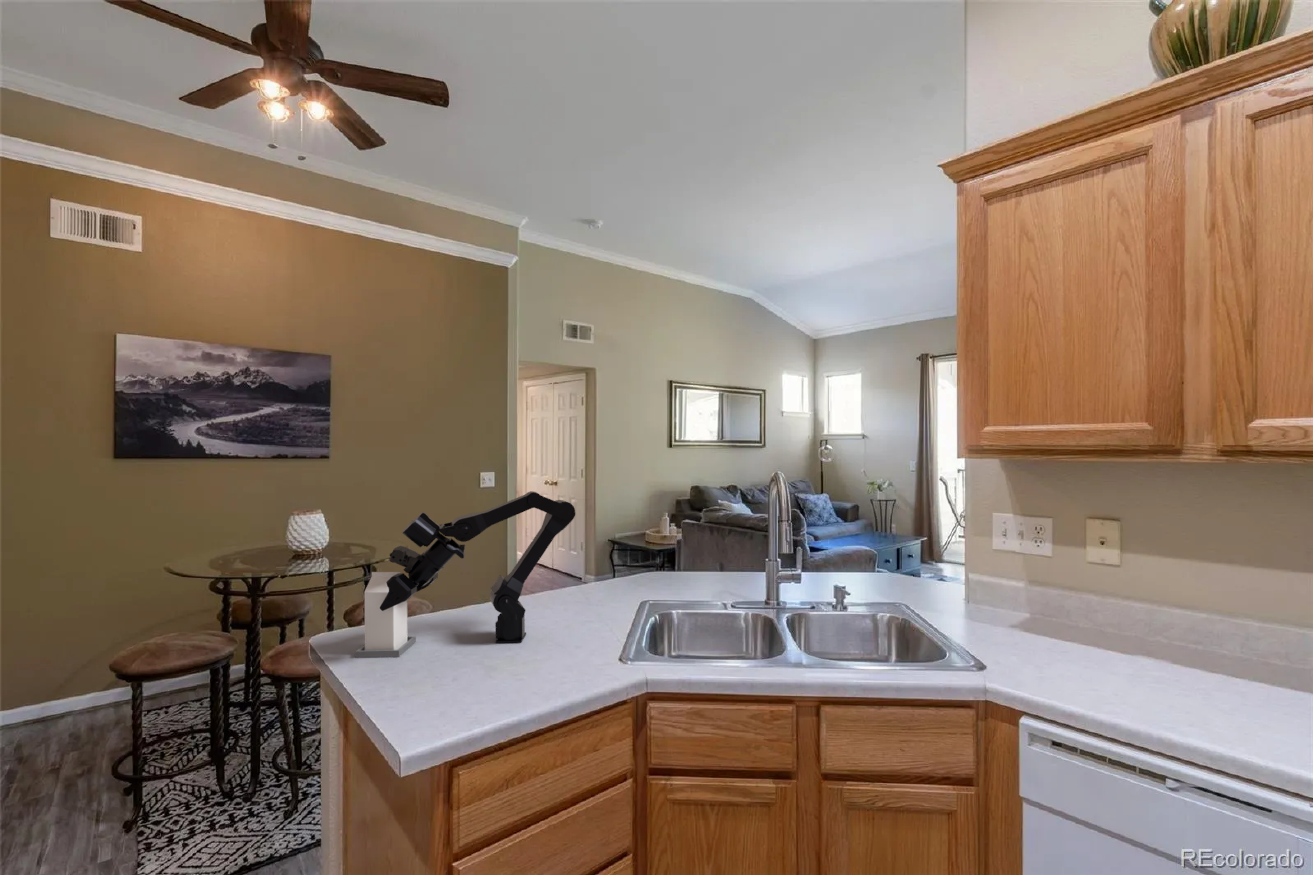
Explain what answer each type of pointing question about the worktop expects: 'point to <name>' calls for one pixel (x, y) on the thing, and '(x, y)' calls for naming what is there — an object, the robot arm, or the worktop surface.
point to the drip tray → (385, 653)
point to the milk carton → (383, 616)
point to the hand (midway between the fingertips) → (389, 604)
